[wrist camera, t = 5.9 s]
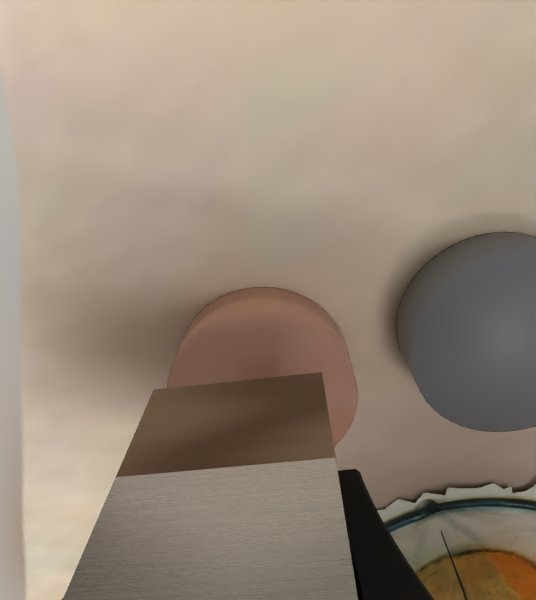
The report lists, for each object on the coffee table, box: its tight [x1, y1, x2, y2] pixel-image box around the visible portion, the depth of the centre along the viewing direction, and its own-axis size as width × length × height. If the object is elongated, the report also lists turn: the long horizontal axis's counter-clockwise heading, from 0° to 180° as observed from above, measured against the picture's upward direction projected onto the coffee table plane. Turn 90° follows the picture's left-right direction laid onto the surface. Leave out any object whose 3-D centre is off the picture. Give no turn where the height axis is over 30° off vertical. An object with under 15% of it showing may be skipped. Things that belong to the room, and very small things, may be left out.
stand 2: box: [396, 232, 536, 432], centre depth 16 cm, size 7×7×2 cm
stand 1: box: [167, 287, 357, 447], centre depth 17 cm, size 7×7×2 cm
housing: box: [63, 372, 358, 600], centre depth 10 cm, size 4×6×6 cm
